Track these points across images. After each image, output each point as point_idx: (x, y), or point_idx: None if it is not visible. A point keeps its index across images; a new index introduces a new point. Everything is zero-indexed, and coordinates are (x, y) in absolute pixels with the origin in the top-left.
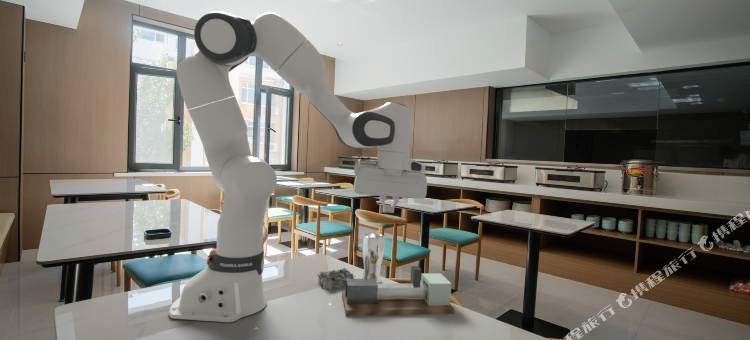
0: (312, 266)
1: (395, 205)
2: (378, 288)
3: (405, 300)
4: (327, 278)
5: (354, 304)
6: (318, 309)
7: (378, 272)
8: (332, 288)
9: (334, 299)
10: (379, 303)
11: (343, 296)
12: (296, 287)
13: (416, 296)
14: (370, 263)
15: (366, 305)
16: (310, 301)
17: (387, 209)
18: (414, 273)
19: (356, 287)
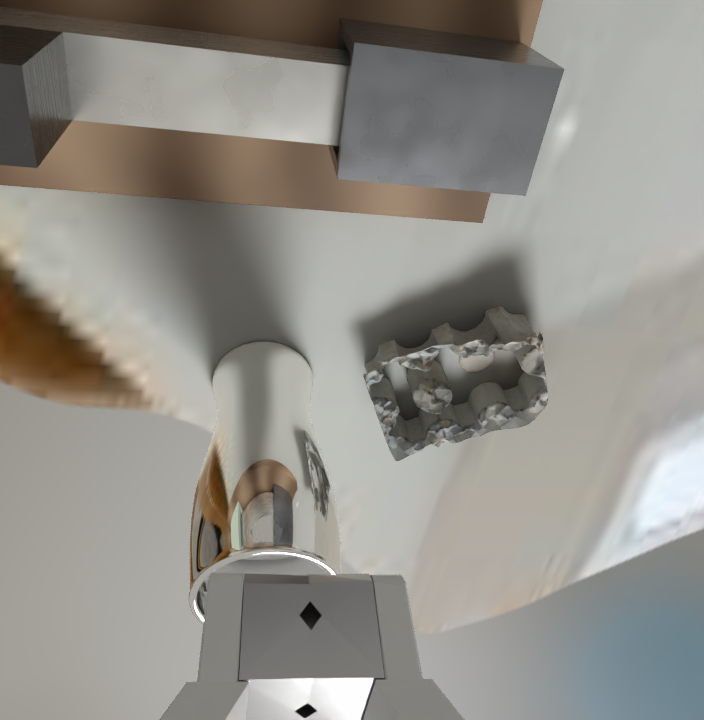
0: (490, 532)
1: (169, 715)
2: (335, 64)
3: None
4: (532, 339)
5: (477, 31)
6: (648, 67)
7: (233, 393)
8: (486, 311)
9: None
10: (319, 21)
11: None
12: (641, 333)
13: (45, 15)
14: (290, 421)
15: (411, 2)
16: (645, 173)
17: (341, 618)
18: (26, 55)
19: (502, 59)
